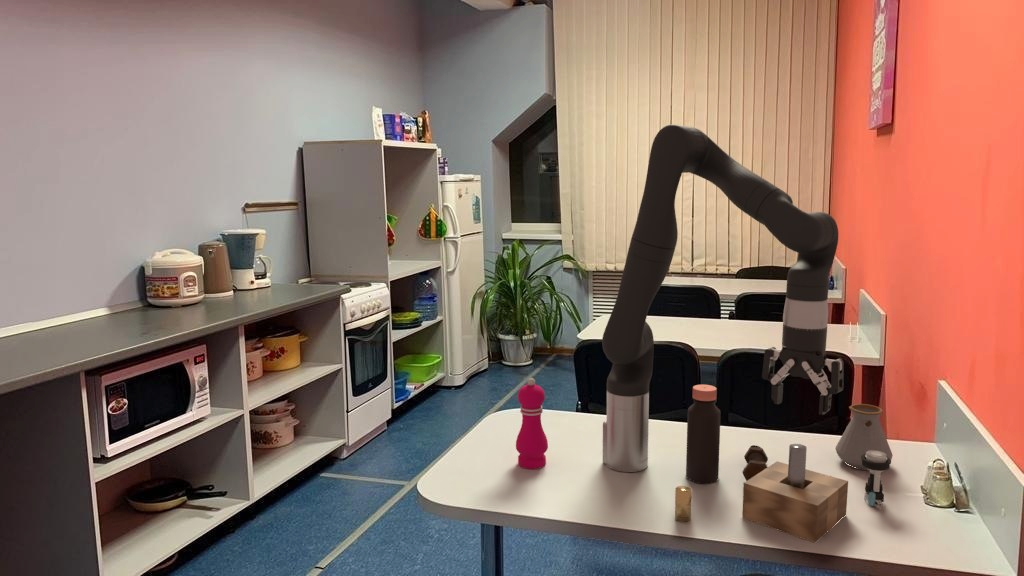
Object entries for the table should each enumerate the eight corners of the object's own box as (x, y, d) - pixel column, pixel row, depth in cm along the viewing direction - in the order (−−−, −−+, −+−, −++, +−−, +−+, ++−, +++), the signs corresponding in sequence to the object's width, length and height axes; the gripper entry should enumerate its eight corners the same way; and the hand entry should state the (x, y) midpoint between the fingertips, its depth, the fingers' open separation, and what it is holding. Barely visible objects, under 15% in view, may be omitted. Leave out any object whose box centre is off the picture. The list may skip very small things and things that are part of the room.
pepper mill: (531, 473, 164) (530, 384, 161) (509, 463, 170) (508, 378, 166) (554, 464, 169) (554, 378, 166) (532, 455, 174) (532, 371, 171)
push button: (894, 511, 144) (897, 462, 142) (864, 510, 145) (867, 461, 143) (883, 496, 151) (886, 449, 149) (854, 495, 151) (858, 448, 150)
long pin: (783, 516, 143) (786, 446, 140) (790, 511, 145) (793, 442, 142) (798, 522, 141) (802, 451, 138) (805, 516, 143) (809, 446, 140)
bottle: (724, 477, 161) (727, 387, 158) (708, 487, 156) (711, 394, 153) (695, 468, 165) (698, 381, 162) (679, 478, 160) (682, 388, 157)
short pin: (671, 519, 142) (672, 489, 141) (680, 513, 145) (680, 484, 144) (685, 524, 140) (686, 494, 139) (694, 518, 142) (694, 488, 141)
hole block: (742, 517, 143) (743, 482, 141) (775, 494, 152) (777, 461, 151) (815, 542, 133) (817, 505, 132) (846, 515, 143) (848, 481, 142)
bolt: (758, 467, 171) (760, 492, 156) (738, 454, 172) (738, 479, 157) (772, 447, 169) (775, 471, 155) (752, 434, 170) (754, 457, 156)
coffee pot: (835, 451, 174) (838, 388, 172) (890, 458, 170) (895, 394, 167) (833, 487, 155) (837, 418, 153) (895, 496, 151) (901, 425, 148)
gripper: (853, 325, 134) (846, 412, 137) (776, 314, 144) (772, 395, 147) (836, 332, 129) (830, 422, 131) (758, 320, 139) (754, 404, 141)
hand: (799, 408), depth 139 cm, fingers open, 8 cm apart
